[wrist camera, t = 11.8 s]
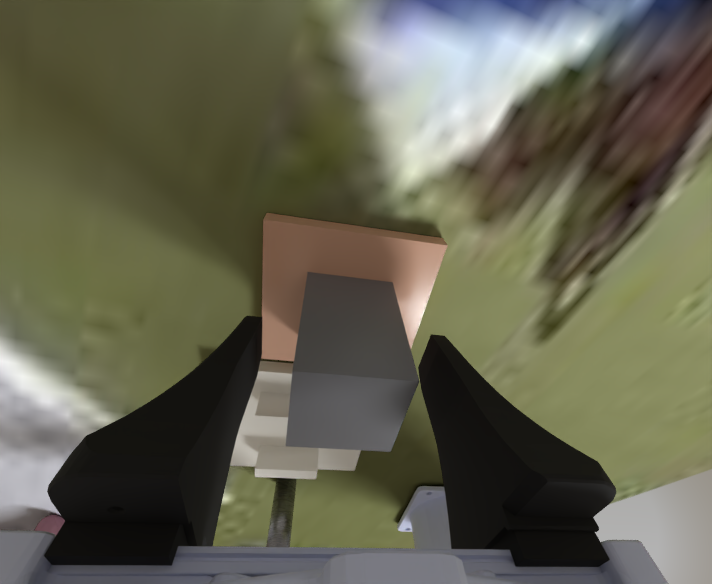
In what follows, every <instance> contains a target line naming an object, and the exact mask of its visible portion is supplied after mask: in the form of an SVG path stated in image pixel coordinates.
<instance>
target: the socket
mask: <svg viewBox="0 0 712 584" xmlns="http://www.w3.org/2000/svg"><path fill="white" fill-rule="evenodd" d="M293 364H294V363H282V362H270V361H260V365H259V370H258V374H257V378H256V381H255V384H254V387H253V390H252V393H251V395H250V398H249V401H248V404H247V407H246V410H245V413H244V416H243V418H242V421H241V424H240V427H239V431H238V434H237V438H236V442H235V446H234V450H233V454H232V458H231V463H230V466H253V467H255V477H270V478H278V479H277V480H276V487H275V493H274V500H273V507H272V513H271V520H270V526H269V533H268V540H267V546H266V547H290V539H291V529H292V519H293V509H294V499H295V490H296V479H316V476H317V471H318V469H323V470H347V471H355V468H356V464H357V461H358V458H359V455H360V452H361V450H346V449H327V448H308V447H288V446H286V436H287V425H288V414H289V403H290V392H291V381H292V370H293ZM295 478H296V479H295Z"/></svg>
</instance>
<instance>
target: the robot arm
mask: <svg viewBox="0 0 712 584" xmlns="http://www.w3.org/2000/svg"><path fill="white" fill-rule="evenodd" d="M261 356H262V317H254V316H246V317H245V318H244V319H243V320H242V321H241V323H240V324H239V325H238V326H237V327H236V329H235V330H234V331H233V332H232V333H231V334H230V335H229V337H228V338H227V339H226V340H225V341H224V342H223V343H222V344H221V345H220V346H219V347H218V348H217V349H216V350H215V351H214V352H213V353H212V354H211V355H210V356H209V357H208V358H206V359H205V360H204V361H203V362H202V363H201V364H200V365H199V366H198V367H196V368H195V369H194V370H193V371H192V372H190V373H189V374H188V375H187V376H185V377H184V378H183V379H182V380H180V381H179V382H178V383H176V384H175V385H173V386H172V387H171V388H169V389H168V390H166V391H165V392H164V393H162V394H161V395H159V396H158V397H156V398H155V399H153V400H152V401H150V402H148V403H147V404H145V405H143V406H142V407H140V408H138V409H137V410H135V411H133V412H132V413H130V414H128V415H126V416H125V417H123V418H121V419H119V420H117V421H115V422H113V423H111V424H109V425H107V426H105V427H103V428H101V429H99V430H97V431H96V432H94V433H91V434H89V435H87V436H86V437H85V438H84V439H83V440H82V442H81V443H80V444H79V445H78V446H77V447H76V448H75V450H74V451H73V452H72V453H71V455H70V456H69V457H68V459H67V460H66V461H65V463H64V464H63V466H62V467H61V469H60V470H59V471H58V473H57V474H56V476H55V477H54V478H53V480H52V481H51V483H50V484H49V487H48V491H47V492H48V495H49V497H50V500H51V502H52V503H53V504H54V506H55V507H56V509H57V510H58V511H59V513H60V514H61V516H62V517H63V518H64V520H65V522H64V524H63V525H62V527H61V529H60V530H59V532H58V534H57V535H55V534H53V533H50V532H46V531H21V530H0V584H668V582H667V581H666V579H665V578H664V576H663V575H662V573H661V572H660V570H659V569H658V567H657V565H656V564H655V562H654V561H653V559H652V558H651V557H650V555H649V553H648V552H647V550H646V549H645V547H644V546H643V544H642V542H640V541H638V540H607V541H603V542H601V543H600V541H599V539H598V537H597V536H596V534H595V532H597V531H598V530H599V527H598V525H597V523H596V522H595V520H594V518H593V517H594V516H595V515H596V514H597V513H598V512H600V511H601V510H602V509H603V508H605V507H606V506H607V505H608V504H609V503H610V502H611V501H612V500H613V499H614V497H615V495H616V488H615V486H614V485H613V483H612V482H611V480H610V479H609V477H608V476H607V474H606V473H605V471H604V470H603V468H602V467H601V465H600V464H599V463H598V462H597V461H595V460H594V459H592V458H590V457H589V456H587V455H585V454H583V453H582V452H580V451H578V450H576V449H575V448H573V447H571V446H569V445H568V444H566V443H565V442H563V441H562V440H560V439H558V438H557V437H555V436H554V435H552V434H551V433H549V432H548V431H546V430H545V429H543V428H542V427H541V426H539V425H538V424H536V423H535V422H534V421H532V420H531V419H530V418H528V417H527V416H526V415H524V414H523V413H522V412H520V411H519V410H518V409H517V408H515V407H514V406H513V405H512V404H511V403H510V402H508V401H507V400H506V399H505V398H504V397H503V396H501V395H500V394H499V393H498V392H497V391H496V390H495V389H494V388H493V387H492V386H491V385H490V384H489V383H488V382H487V381H486V380H485V379H484V378H483V377H482V376H481V375H480V374H479V373H478V372H477V371H476V370H475V369H474V368H473V367H472V366H471V365H470V364H469V363H468V361H467V360H466V359H465V358H464V357H463V356H462V355H461V354H460V352H459V351H458V350H457V349H456V348H455V347H454V346H453V345H452V343H451V342H450V341H449V340H448V339H447V338H446V337H445V336H440V335H431V336H430V339H429V341H428V344H427V347H426V349H425V352H424V354H423V357H422V359H421V362H420V365H419V367H418V369H419V376H420V383H421V389H422V393H423V397H424V400H425V404H426V407H427V411H428V414H429V418H430V421H431V425H432V428H433V432H434V435H435V439H436V443H437V448H438V453H439V459H440V464H441V470H442V476H443V483H444V487H439V486H420V487H418V488H417V490H416V491H415V493H414V495H413V497H412V499H411V501H410V503H409V504H408V506H407V508H406V510H405V512H404V514H403V516H402V517H401V519H400V521H399V523H398V525H397V528H398V530H399V531H411V532H413V538H414V545H415V549H401V548H308V547H216V546H212V545H213V540H214V536H215V531H216V526H217V521H218V516H219V512H220V507H221V503H222V498H223V493H224V489H225V484H226V480H227V476H228V471H229V467H230V463H231V458H232V454H233V450H234V446H235V442H236V438H237V434H238V431H239V427H240V424H241V421H242V418H243V416H244V413H245V410H246V407H247V404H248V401H249V398H250V395H251V393H252V390H253V387H254V384H255V381H256V378H257V374H258V370H259V365H260V361H261Z"/></svg>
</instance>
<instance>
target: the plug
mask: <svg viewBox="0 0 712 584" xmlns="http://www.w3.org/2000/svg"><path fill="white" fill-rule="evenodd" d="M418 383H419V379H418V375H417V372H416V368H415V364H414V360H413V357H412V353H411V349H410V345H409V342H408V338H407V334H406V330H405V327H404V323H403V319H402V315H401V312H400V308H399V304H398V300H397V297H396V293H395V289H394V286H393V282H386V281H378V280H370V279H362V278H354V277H346V276H338V275H330V274H321V273H313V272H308V273H307V279H306V286H305V292H304V299H303V305H302V312H301V318H300V325H299V331H298V338H297V344H296V351H295V357H294V364H293V370H292V381H291V392H290V403H289V414H288V425H287V436H286V446H288V447H308V448H327V449H346V450H366V451H385V452H391V450H392V447H393V445H394V442H395V440H396V437H397V435H398V433H399V430H400V428H401V425H402V423H403V420H404V418H405V415H406V413H407V410H408V408H409V405H410V403H411V400H412V398H413V395H414V393H415V391H416V388H417V386H418Z"/></svg>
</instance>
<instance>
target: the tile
mask: <svg viewBox="0 0 712 584" xmlns="http://www.w3.org/2000/svg"><path fill="white" fill-rule="evenodd" d="M446 248H447V244H446V242H445V241H444V239H443V238H439V237H432V236H425V235H418V234H411V233H404V232H397V231H390V230H383V229H376V228H369V227H362V226H355V225H348V224H341V223H334V222H327V221H320V220H313V219H307V218H300V217H293V216H286V215H279V214H272V213H266V215H265V217H264V219H263V274H262V356H261V359H272V360H283V361H294V357H295V351H296V344H297V338H298V331H299V325H300V318H301V312H302V305H303V299H304V292H305V286H306V279H307V273H308V272H313V273H321V274H330V275H338V276H346V277H354V278H362V279H370V280H378V281H386V282H393V286H394V289H395V293H396V297H397V300H398V304H399V308H400V312H401V315H402V319H403V323H404V327H405V330H406V334H407V338H408V342H409V345H410V349H411V347H412V344H413V341H414V339H415V336H416V333H417V330H418V327H419V325H420V322H421V319H422V316H423V313H424V310H425V308H426V305H427V302H428V299H429V296H430V293H431V291H432V288H433V285H434V282H435V279H436V277H437V274H438V271H439V268H440V265H441V262H442V260H443V257H444V254H445V251H446Z"/></svg>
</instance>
